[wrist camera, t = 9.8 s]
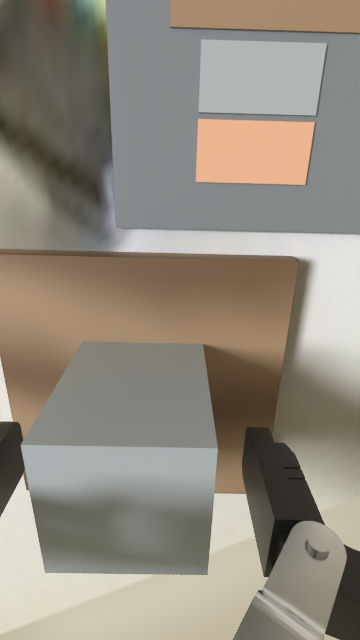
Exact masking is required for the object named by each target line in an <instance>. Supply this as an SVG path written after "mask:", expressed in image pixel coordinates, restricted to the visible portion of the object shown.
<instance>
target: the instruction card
mask: <svg viewBox="0 0 360 640" xmlns="http://www.w3.org/2000/svg"><path fill="white" fill-rule="evenodd" d="M106 18H107V40H108V62H109V85H110V107H111V130H112V152H113V174H114V197H115V219H116V228H153V229H192V230H232V231H271V232H310V233H350V234H360V0H106Z"/></svg>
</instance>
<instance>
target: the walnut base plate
mask: <svg viewBox="0 0 360 640" xmlns="http://www.w3.org/2000/svg"><path fill="white" fill-rule="evenodd" d="M298 265H299V261H297V260H296V259H294V258H293V257H291V256H257V255H217V254H176V253H136V252H95V251H55V250H14V249H0V357H1V362H2V367H3V372H4V377H5V383H6V388H7V393H8V398H9V403H10V408H11V413H12V418H13V422H19V424H20V426H21V430H22V436H23V440H24V438H25V437H26V435H27V433H28V432H29V430H30V428H31V427H32V425H33V423H34V422H35V420H36V418H37V417H38V415H39V413H40V412H41V410H42V408H43V407H44V405H45V403H46V402H47V400H48V398H49V397H50V395H51V393H52V392H53V390H54V388H55V387H56V385H57V383H58V382H59V380H60V378H61V377H62V375H63V373H64V372H65V370H66V368H67V367H68V365H69V363H70V362H71V360H72V358H73V357H74V355H75V353H76V352H77V350H78V348H79V347H80V345H81V343H82V342H83V341H84V342H133V343H182V344H203V348H204V355H205V362H206V369H207V376H208V383H209V390H210V397H211V404H212V411H213V418H214V425H215V432H216V439H217V446H218V453H217V465H216V477H215V489H214V493H229V494H246V490H245V486H244V481H243V475H242V457H243V449H244V441H245V433H246V428H247V427H267V428H269V430H270V432H271V435H272V430H273V423H274V417H275V411H276V404H277V398H278V392H279V385H280V379H281V373H282V366H283V360H284V354H285V348H286V341H287V335H288V329H289V322H290V316H291V310H292V303H293V297H294V291H295V284H296V278H297V272H298ZM23 474H24V479H25V485H26V490H29V486H28V481H27V476H26V471H25V470H24V473H23Z"/></svg>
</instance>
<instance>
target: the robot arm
mask: <svg viewBox="0 0 360 640" xmlns="http://www.w3.org/2000/svg"><path fill="white" fill-rule="evenodd" d="M22 442H23V436H22V430H21V426H20V424H19V422H0V516H1V514H2V513H3V511H4V509H5V507H6V505H7V503H8V501H9V499H10V498H11V496H12V494H13V492H14V490H15V488H16V486H17V484H18V482H19V481H20V479H21V477H22V475H23V473H24V470H25V465H24V460H23V455H22V450H21V443H22ZM242 475H243V481H244V486H245V490H246V495H247V500H248V505H249V509H250V514H251V519H252V523H253V528H254V533H255V537H256V542H257V547H258V551H259V556H260V561H261V565H262V570H263V575H264V577H269V578H268V580H267V582H266V584H265V586H264V588H263V589H262V591H260V590H259V591H258V592H257V593H256V595H255V597H254V598H253V600H252V602H251V604H250V606H249V608H248V610H247V612H246V614H245V616H244V618H243V620H242V622H241V624H240V626H239V628H238V630H237V632H236V634H235V636H234V638H233V640H323V639H324V634H327V635H330V636H332V637H335V638H337V639H340V640H360V551H357V550H354V549H352V548H350V547H348V546H346V545H344V544H343V543H342V541H341V540H340V538H339V537H338V536H337V535H336V534H335V533H334V532H333V531H332V530H331V529H330V528H328V527H326V526H325V524H324V522H323V520H322V517H321V515H320V513H319V510H318V508H317V505H316V503H315V501H314V498H313V496H312V494H311V491H310V489H309V486H308V484H307V482H306V481H305V477H304V475H303V472H302V470H301V469H300V465H299V463H298V460H297V458H296V456H295V454H294V453H293V452H292V451H291V450H290V449H289V447H288V446H287V445H286V444H285V443H274V440H273V438H272V435H271V432H270V430H269V428H267V427H247V428H246V433H245V441H244V449H243V457H242Z"/></svg>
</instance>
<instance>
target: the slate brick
mask: <svg viewBox="0 0 360 640" xmlns="http://www.w3.org/2000/svg"><path fill="white" fill-rule="evenodd" d="M21 450H22V455H23V460H24V465H25V471H26V476H27V481H28V486H29V491H30V496H31V501H32V507H33V512H34V517H35V522H36V527H37V532H38V538H39V543H40V548H41V553H42V558H43V563H44V569H45V573H106V574H180V575H207V572H208V560H209V549H210V537H211V525H212V513H213V501H214V489H215V477H216V465H217V453H218V446H217V439H216V432H215V425H214V418H213V411H212V404H211V397H210V390H209V383H208V376H207V369H206V362H205V355H204V348H203V344H182V343H133V342H84V341H83V342H82V343H81V345H80V347H79V348H78V350H77V352H76V353H75V355H74V357H73V358H72V360H71V362H70V363H69V365H68V367H67V368H66V370H65V372H64V373H63V375H62V377H61V378H60V380H59V382H58V383H57V385H56V387H55V388H54V390H53V392H52V393H51V395H50V397H49V398H48V400H47V402H46V403H45V405H44V407H43V408H42V410H41V412H40V413H39V415H38V417H37V418H36V420H35V422H34V423H33V425H32V427H31V428H30V430H29V432H28V433H27V435H26V437H25V438H24V440H23V442H22V443H21Z"/></svg>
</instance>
